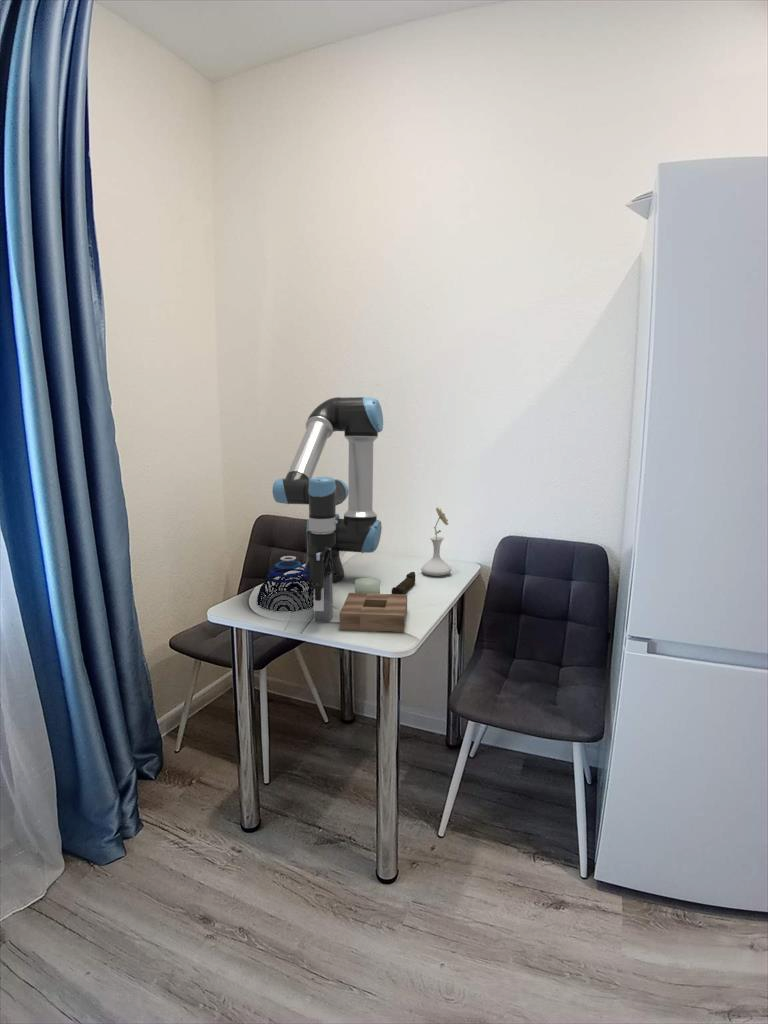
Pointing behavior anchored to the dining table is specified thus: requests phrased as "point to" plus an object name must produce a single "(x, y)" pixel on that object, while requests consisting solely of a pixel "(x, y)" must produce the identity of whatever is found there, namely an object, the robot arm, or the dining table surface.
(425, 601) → the dining table surface
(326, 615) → the square bar
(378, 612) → the socket block
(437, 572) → the flower in vase
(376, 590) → the round stub
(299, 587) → the decorative bowl
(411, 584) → the hand tool
